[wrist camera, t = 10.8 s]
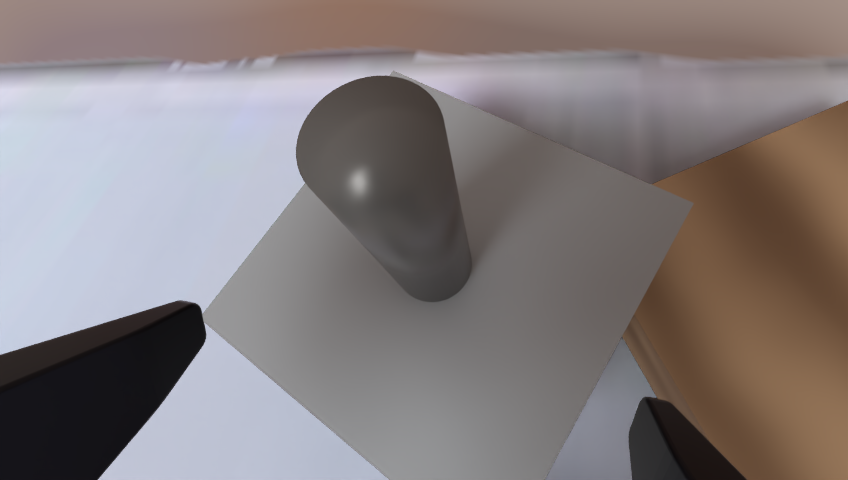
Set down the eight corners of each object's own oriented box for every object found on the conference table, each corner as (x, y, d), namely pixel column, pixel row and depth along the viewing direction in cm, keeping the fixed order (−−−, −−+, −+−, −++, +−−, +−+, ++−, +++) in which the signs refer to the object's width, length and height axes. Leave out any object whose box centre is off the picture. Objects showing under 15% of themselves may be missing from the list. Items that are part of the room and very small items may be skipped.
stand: (731, 527, 17) (777, 554, 14) (566, 238, 22) (575, 216, 19) (1054, 397, 17) (1165, 398, 14) (808, 135, 22) (854, 98, 19)
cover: (495, 561, 12) (492, 894, 4) (209, 320, 16) (-67, 253, 8) (686, 210, 15) (912, -6, 7) (396, 80, 19) (321, -148, 11)
